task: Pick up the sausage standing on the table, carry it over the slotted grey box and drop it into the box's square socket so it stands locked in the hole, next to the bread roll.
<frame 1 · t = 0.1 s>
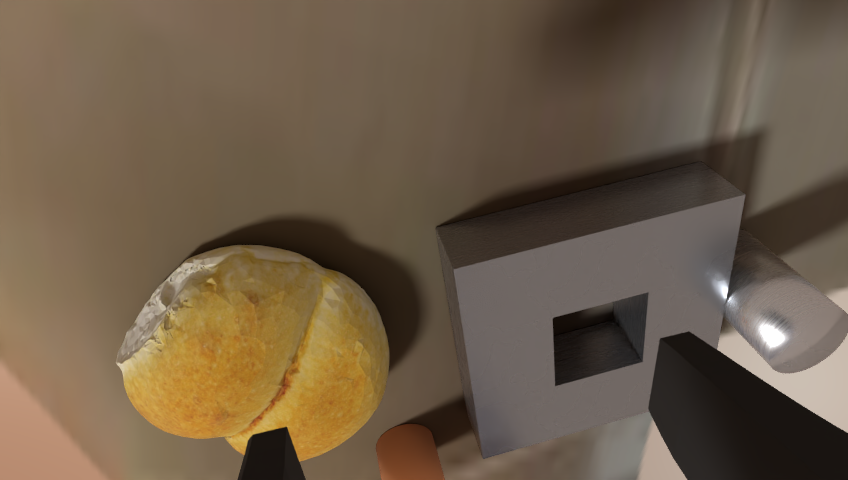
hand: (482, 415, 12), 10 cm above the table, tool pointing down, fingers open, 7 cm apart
slotted grey box: (572, 299, 24), on the table
sausage: (404, 443, 27), on the table
bread roll: (262, 331, 23), on the table
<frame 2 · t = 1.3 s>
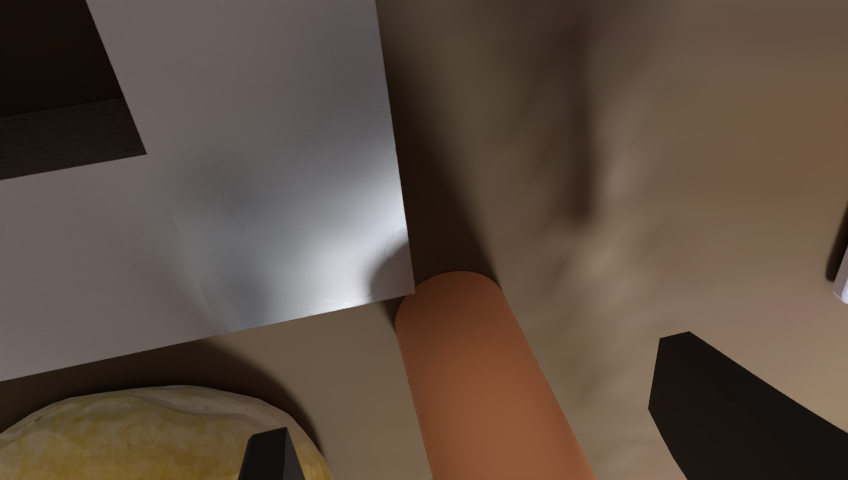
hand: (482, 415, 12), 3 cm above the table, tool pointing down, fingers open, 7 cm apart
sausage: (451, 317, 14), on the table
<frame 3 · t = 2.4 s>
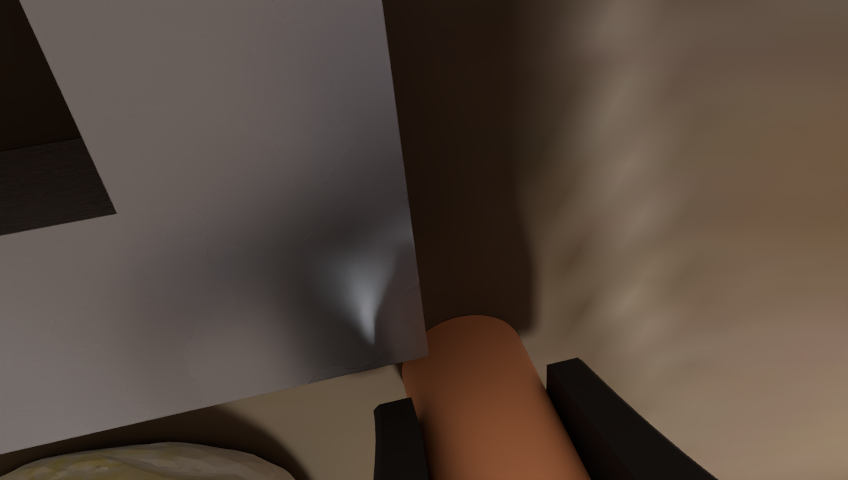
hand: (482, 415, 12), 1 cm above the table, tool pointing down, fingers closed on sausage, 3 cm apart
sausage: (462, 363, 13), on the table, touching gripper
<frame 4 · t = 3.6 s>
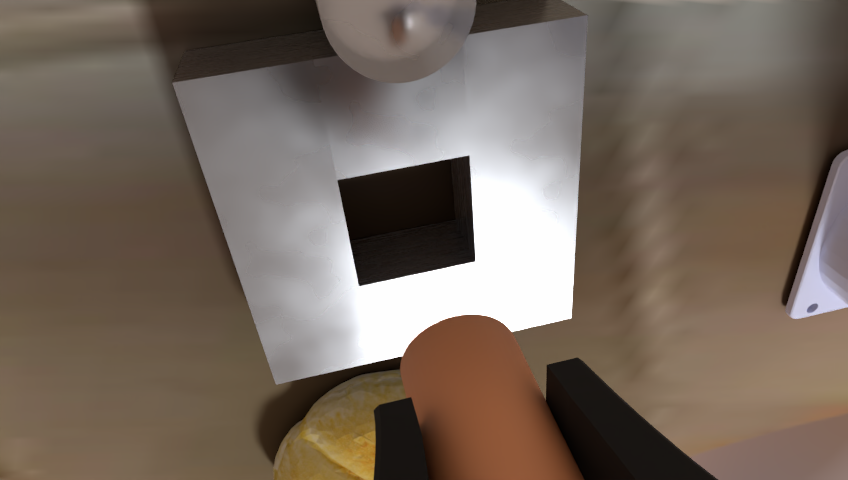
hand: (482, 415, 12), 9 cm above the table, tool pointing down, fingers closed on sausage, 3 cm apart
slotted grey box: (396, 182, 19), on the table
sausage: (459, 360, 13), point 8 cm above the table, touching gripper
bread roll: (381, 431, 26), on the table
when the fingers open (3 cm above the table, at t = 4.8 s): sausage drops 1 cm, resting in slotted grey box.
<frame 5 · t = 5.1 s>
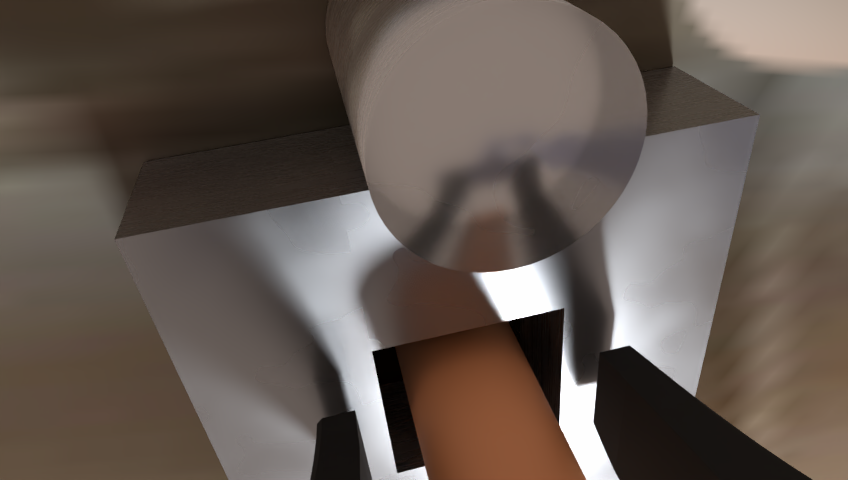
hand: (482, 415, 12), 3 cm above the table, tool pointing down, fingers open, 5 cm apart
slotted grey box: (444, 314, 14), on the table
sausage: (446, 322, 14), resting in slotted grey box
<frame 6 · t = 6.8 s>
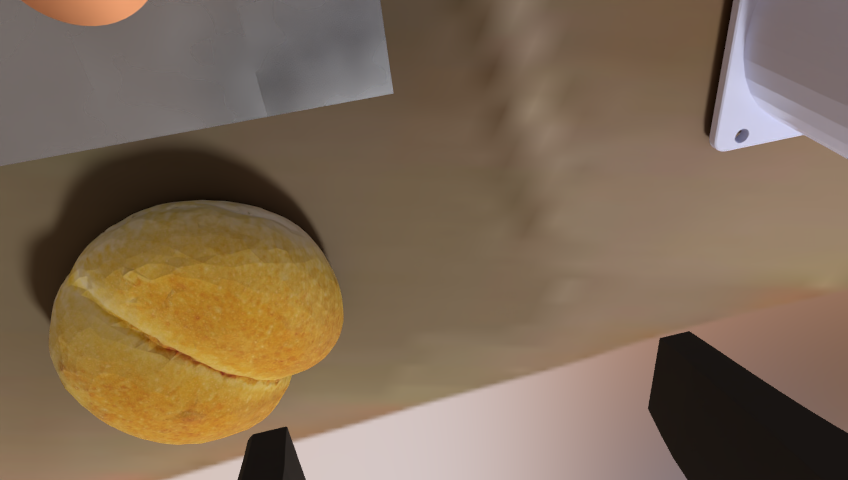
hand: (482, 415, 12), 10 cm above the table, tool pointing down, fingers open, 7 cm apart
bread roll: (207, 300, 21), on the table
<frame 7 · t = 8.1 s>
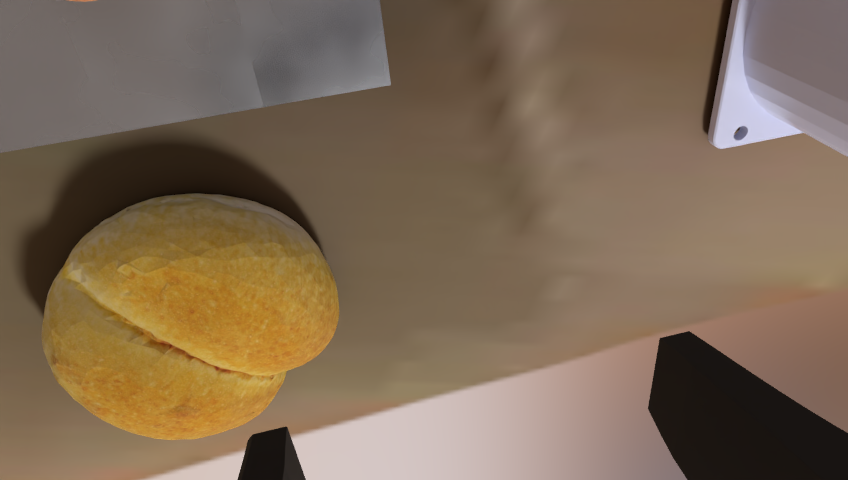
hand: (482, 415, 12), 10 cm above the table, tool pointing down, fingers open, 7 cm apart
bread roll: (202, 295, 21), on the table
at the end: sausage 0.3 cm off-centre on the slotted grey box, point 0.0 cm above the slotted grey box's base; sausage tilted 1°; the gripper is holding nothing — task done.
